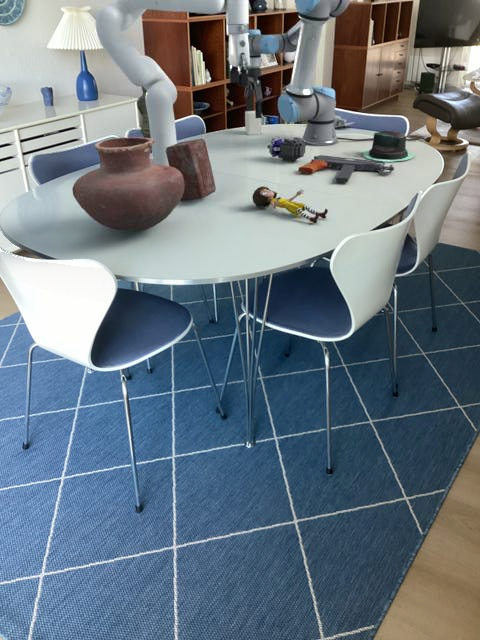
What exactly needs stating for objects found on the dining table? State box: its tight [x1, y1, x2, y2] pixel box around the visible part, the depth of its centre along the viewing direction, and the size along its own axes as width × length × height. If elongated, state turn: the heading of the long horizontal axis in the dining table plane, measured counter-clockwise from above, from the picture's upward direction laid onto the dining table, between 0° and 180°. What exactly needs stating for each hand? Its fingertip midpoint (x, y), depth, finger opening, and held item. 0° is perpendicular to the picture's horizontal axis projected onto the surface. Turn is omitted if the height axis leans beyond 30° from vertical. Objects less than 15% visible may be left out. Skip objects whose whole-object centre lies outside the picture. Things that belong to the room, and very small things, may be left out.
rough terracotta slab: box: [166, 138, 217, 202], centre depth 188 cm, size 17×10×40 cm
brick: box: [244, 110, 263, 136], centre depth 268 cm, size 5×6×10 cm
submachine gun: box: [298, 154, 395, 183], centre depth 205 cm, size 32×3×25 cm
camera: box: [334, 100, 355, 128], centre depth 275 cm, size 9×12×15 cm
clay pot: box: [72, 136, 185, 232], centre depth 155 cm, size 30×30×25 cm
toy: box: [266, 135, 306, 163], centre depth 223 cm, size 9×9×15 cm
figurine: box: [251, 185, 329, 224], centre depth 169 cm, size 13×8×25 cm
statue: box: [136, 86, 152, 152], centre depth 237 cm, size 11×9×30 cm
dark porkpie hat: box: [362, 130, 414, 163], centre depth 226 cm, size 15×19×20 cm
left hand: (238, 84), depth 196 cm, fingers open, 9 cm apart
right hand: (253, 116), depth 266 cm, fingers open, 13 cm apart
